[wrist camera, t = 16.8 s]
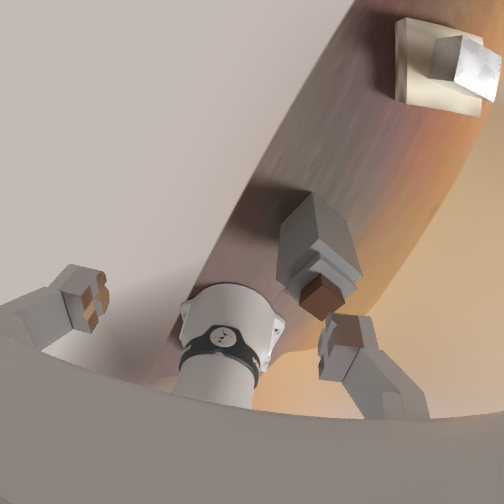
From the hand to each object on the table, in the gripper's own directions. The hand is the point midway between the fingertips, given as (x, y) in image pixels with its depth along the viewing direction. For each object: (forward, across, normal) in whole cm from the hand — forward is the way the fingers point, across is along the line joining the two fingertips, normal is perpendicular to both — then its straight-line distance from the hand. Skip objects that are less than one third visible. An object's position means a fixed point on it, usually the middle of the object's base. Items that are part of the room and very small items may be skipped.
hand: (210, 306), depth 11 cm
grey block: (+30, +20, +14) cm, 39 cm away
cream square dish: (+35, +20, +14) cm, 42 cm away
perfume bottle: (+34, +8, -12) cm, 37 cm away
